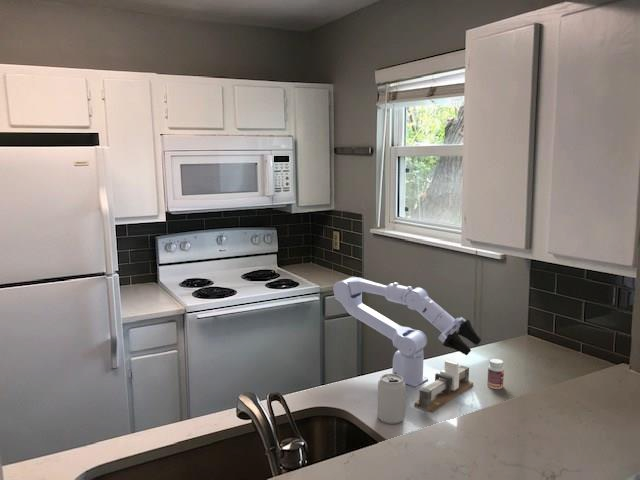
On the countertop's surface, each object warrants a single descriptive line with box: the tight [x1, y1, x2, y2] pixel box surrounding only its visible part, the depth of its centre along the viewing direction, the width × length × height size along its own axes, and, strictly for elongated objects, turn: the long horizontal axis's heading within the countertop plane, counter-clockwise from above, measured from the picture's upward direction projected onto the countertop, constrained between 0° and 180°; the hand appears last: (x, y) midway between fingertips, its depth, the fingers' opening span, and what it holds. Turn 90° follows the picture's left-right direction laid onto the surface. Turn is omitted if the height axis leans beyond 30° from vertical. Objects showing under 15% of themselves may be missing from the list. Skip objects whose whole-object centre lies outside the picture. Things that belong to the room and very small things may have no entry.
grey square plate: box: [434, 373, 451, 394], centre depth 159 cm, size 5×1×5 cm, turn 48°
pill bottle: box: [486, 358, 505, 390], centre depth 167 cm, size 5×5×8 cm
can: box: [376, 373, 407, 425], centre depth 145 cm, size 8×8×12 cm
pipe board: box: [413, 365, 474, 413], centre depth 161 cm, size 6×25×5 cm, turn 138°
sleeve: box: [439, 359, 460, 391], centre depth 162 cm, size 5×3×8 cm, turn 48°
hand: (474, 347), depth 159 cm, fingers open, 7 cm apart
